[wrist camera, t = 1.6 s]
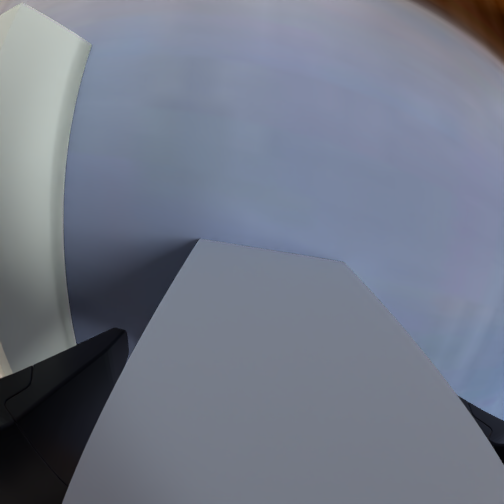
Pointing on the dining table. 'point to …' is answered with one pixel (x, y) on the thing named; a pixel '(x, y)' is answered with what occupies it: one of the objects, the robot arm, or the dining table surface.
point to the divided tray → (35, 183)
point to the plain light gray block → (281, 398)
